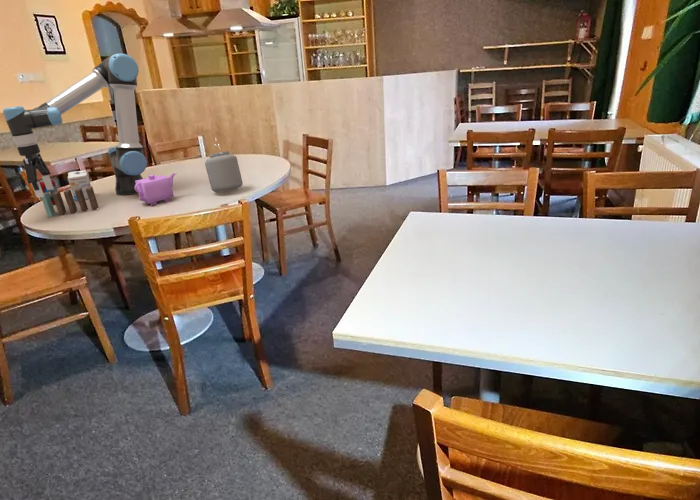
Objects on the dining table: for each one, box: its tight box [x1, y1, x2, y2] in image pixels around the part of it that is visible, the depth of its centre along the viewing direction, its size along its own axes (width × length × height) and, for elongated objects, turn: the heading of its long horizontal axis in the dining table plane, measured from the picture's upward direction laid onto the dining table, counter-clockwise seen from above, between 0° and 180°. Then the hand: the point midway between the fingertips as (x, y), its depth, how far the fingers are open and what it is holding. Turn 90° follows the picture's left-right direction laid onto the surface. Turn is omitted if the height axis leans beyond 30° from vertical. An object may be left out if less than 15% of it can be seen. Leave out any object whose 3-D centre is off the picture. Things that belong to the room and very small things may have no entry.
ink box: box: [67, 170, 92, 202], centre depth 227 cm, size 9×8×13 cm
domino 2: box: [52, 190, 67, 216], centre depth 202 cm, size 2×5×10 cm, turn 16°
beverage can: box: [38, 178, 58, 206], centre depth 220 cm, size 7×7×12 cm
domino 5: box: [86, 185, 100, 211], centre depth 205 cm, size 2×5×10 cm, turn 16°
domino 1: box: [40, 192, 57, 218], centre depth 201 cm, size 2×5×10 cm, turn 16°
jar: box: [204, 137, 244, 193], centre depth 212 cm, size 19×15×25 cm
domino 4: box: [75, 188, 89, 213], centre depth 204 cm, size 2×5×10 cm, turn 17°
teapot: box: [135, 172, 177, 206], centre depth 208 cm, size 20×10×12 cm, turn 134°
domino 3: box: [63, 188, 78, 215], centre depth 203 cm, size 2×5×10 cm, turn 16°
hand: (45, 193), depth 199 cm, fingers open, 13 cm apart
